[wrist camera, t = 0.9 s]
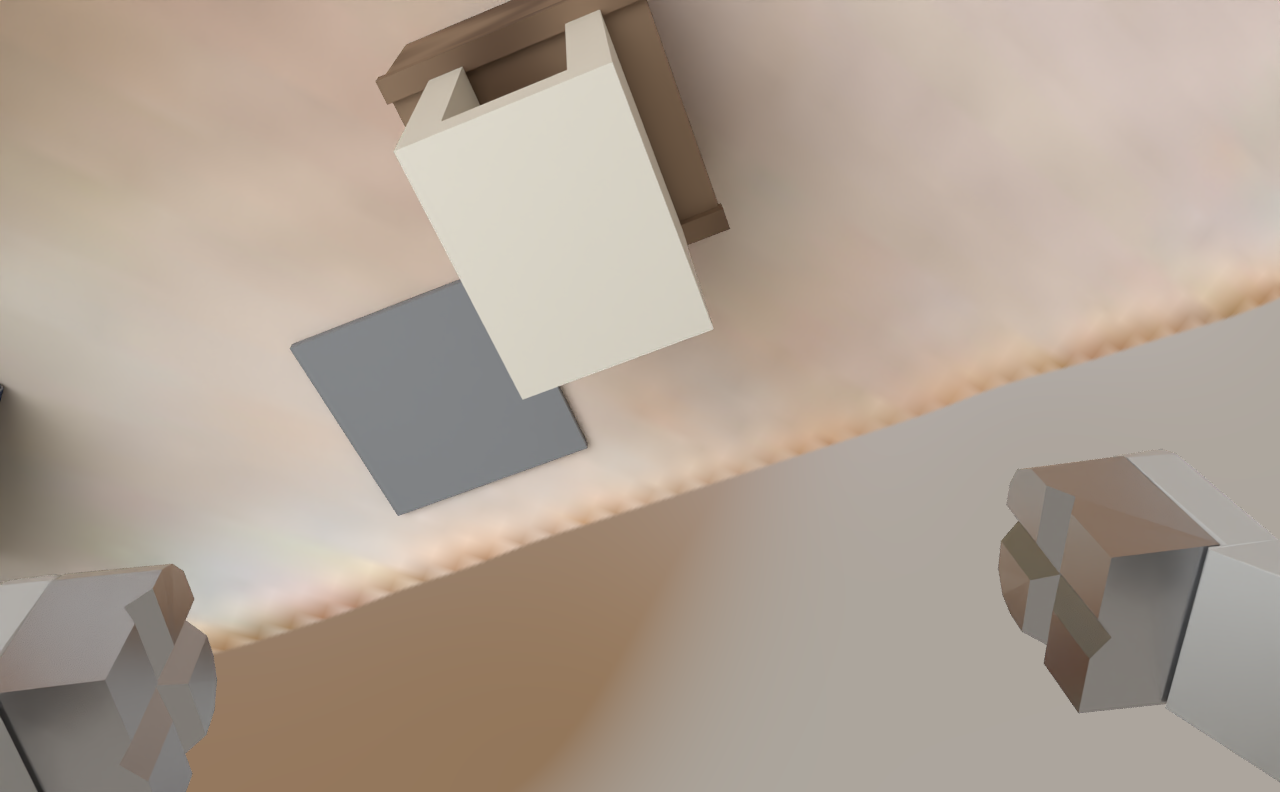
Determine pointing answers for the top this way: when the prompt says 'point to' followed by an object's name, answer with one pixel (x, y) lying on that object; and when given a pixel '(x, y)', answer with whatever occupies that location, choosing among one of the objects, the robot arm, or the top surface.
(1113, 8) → the top surface
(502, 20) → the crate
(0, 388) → the protein box
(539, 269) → the cream square bin
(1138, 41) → the top surface
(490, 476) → the mat
